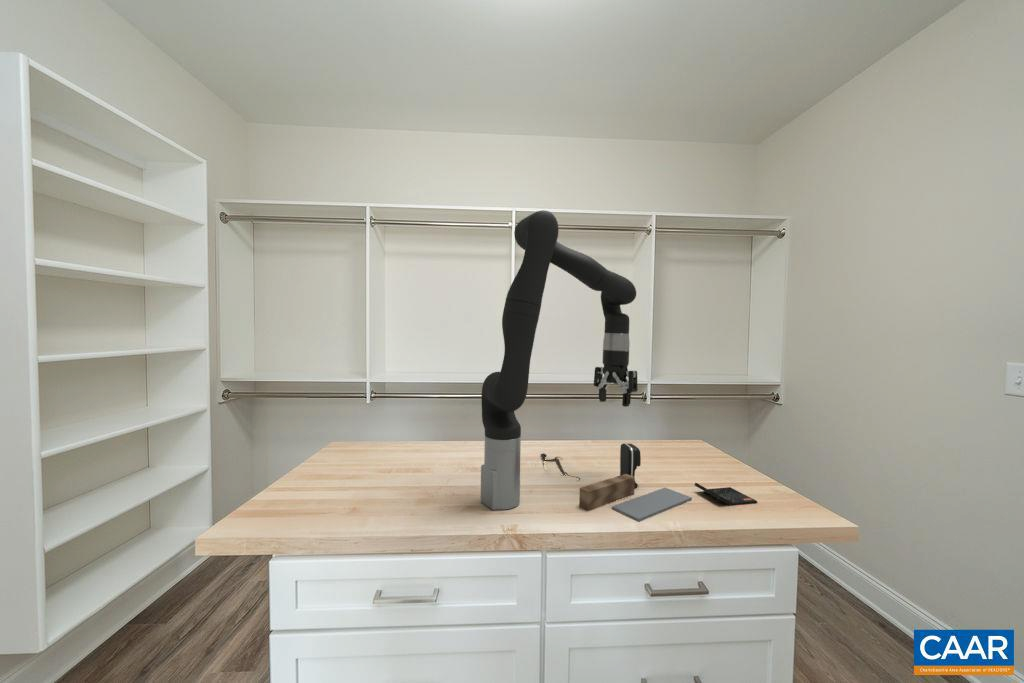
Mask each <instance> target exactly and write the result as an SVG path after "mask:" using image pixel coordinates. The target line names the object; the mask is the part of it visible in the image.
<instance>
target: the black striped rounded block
mask: <svg viewBox="0 0 1024 683" xmlns="http://www.w3.org/2000/svg"><path fill="white" fill-rule="evenodd" d="M619 452H620V453H619V454H620V455H619V459H620V460H619V467H620V468H619V470H620V471H619V476H620V475H623V474H628V475H631V476H633V477H635V474H636V473H635V472H636V470H637V468H638V467H641V466H642V465H641V464H642V463H641V450H640V448H639V447H637V446H636V445H634V444H632V443H621V444H620V451H619ZM637 487H639V484H638V483H637V481H635V486H634V488H637Z"/></svg>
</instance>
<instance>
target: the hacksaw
mask: <svg viewBox="0 0 1024 683" xmlns="http://www.w3.org/2000/svg"><path fill="white" fill-rule="evenodd" d="M540 455H541V457H542V458H541V457H540V458H541V461H542V460H543V461H551V462H555V463H556V466H557V465H558V466H557V468H558V467H559V468H558V469H560V470H559V472H560V473H561V472H562V473H561V474H562V476H564V475H565V474H566V475H567V476H568V477H573V478H576V479H579V480H577V482H579V481H581V477H579V476H573V475H569V474H568V473H567V471H564V469H563V467H562V464H561V461H562V460H563V457H562V456H560V458H558V456H555V457H554V458H552V459H546V458H547V457H548V455H547V454H546V453H540V454H539V456H540ZM546 456H547V457H546ZM545 457H546V458H545ZM545 459H546V460H545ZM554 460H555V461H554ZM560 460H561V461H560ZM566 475H565V476H566Z"/></svg>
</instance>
